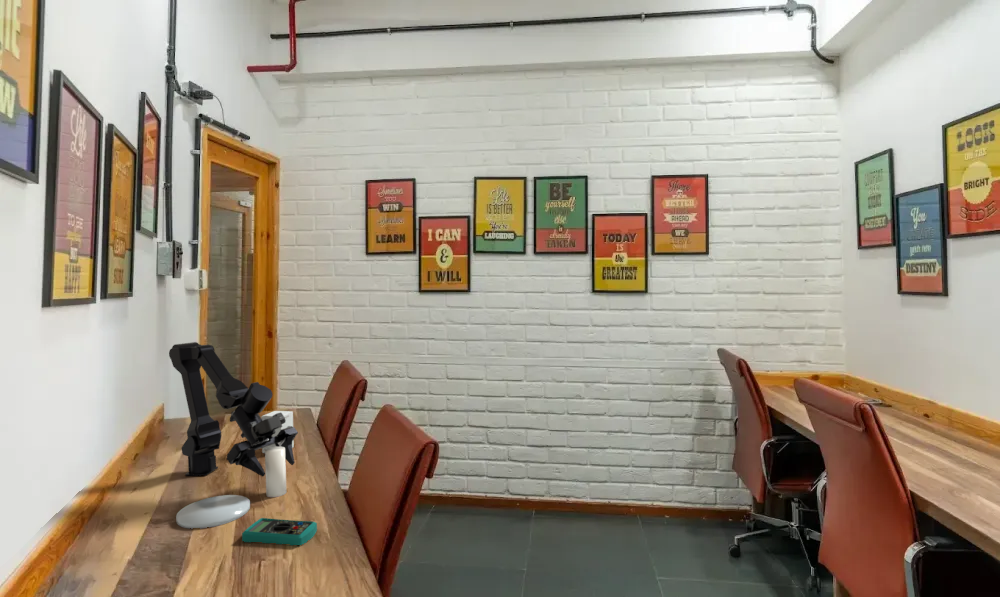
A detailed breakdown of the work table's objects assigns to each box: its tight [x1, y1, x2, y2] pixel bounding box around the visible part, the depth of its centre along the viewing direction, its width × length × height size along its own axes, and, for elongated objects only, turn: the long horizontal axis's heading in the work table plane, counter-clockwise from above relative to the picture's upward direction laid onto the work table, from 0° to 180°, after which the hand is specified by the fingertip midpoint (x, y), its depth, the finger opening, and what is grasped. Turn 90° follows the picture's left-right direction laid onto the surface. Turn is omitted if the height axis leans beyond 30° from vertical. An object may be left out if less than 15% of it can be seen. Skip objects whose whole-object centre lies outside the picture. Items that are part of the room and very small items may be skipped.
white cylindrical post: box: [264, 447, 287, 498], centre depth 142 cm, size 5×5×12 cm
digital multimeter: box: [241, 517, 318, 546], centre depth 119 cm, size 7×15×3 cm, turn 81°
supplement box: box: [260, 410, 295, 454], centre depth 177 cm, size 7×7×13 cm
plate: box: [175, 494, 251, 530], centre depth 131 cm, size 16×16×1 cm
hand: (279, 469), depth 141 cm, fingers open, 9 cm apart
